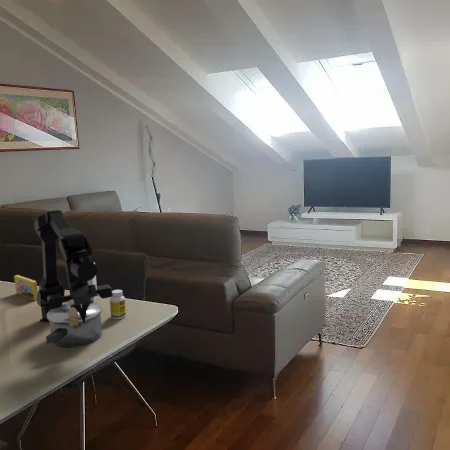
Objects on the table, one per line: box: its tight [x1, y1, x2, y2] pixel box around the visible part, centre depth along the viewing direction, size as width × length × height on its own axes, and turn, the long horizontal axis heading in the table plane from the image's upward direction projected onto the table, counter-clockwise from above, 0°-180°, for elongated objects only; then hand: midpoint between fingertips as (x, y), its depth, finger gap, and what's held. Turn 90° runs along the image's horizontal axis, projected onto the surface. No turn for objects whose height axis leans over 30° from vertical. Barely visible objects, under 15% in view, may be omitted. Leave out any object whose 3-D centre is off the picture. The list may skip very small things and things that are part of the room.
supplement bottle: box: [109, 289, 127, 320], centre depth 171 cm, size 5×5×10 cm
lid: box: [47, 302, 103, 326], centre depth 152 cm, size 24×17×3 cm
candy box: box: [13, 274, 39, 302], centre depth 198 cm, size 16×2×8 cm, turn 50°
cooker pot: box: [45, 313, 103, 349], centre depth 153 cm, size 16×26×8 cm, turn 168°
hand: (84, 322), depth 145 cm, fingers closed
